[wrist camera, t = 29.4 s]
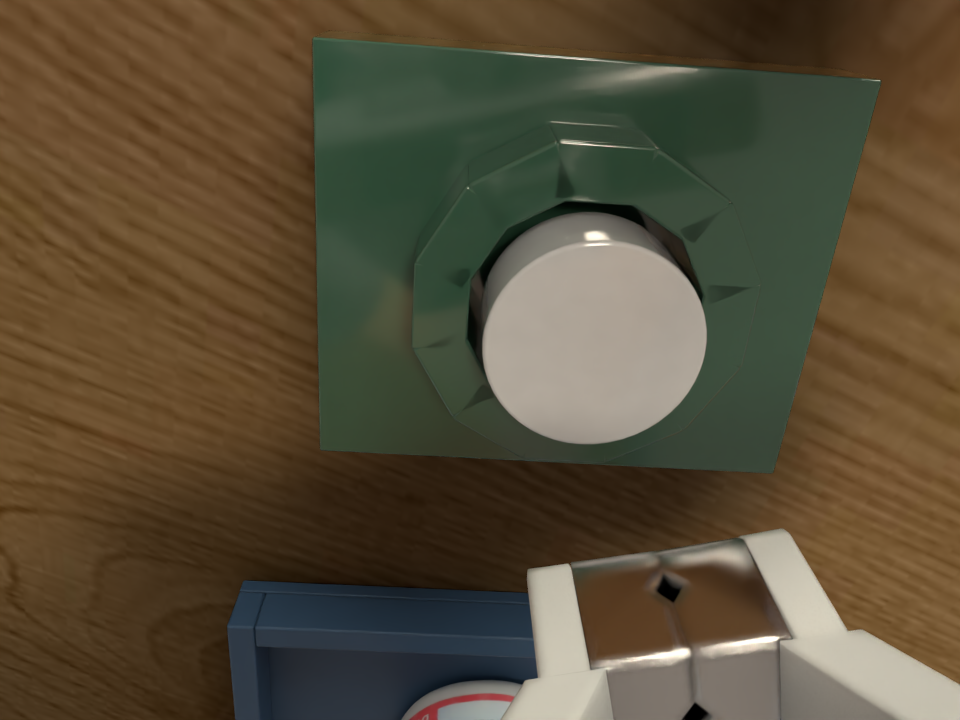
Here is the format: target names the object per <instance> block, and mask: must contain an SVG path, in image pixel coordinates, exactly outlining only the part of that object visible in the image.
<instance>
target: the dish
mask: <svg viewBox="0 0 960 720" xmlns="http://www.w3.org/2000/svg"><path fill="white" fill-rule="evenodd" d="M227 632H228V644H229V655H230V666H231V678H232V689H233V700H234V712H235V720H401V719H402V718H403V716H404V715H405V713H406V712H407V711H408V710H409V708H410V707H411V706H412V705H413V704H414V703H415V702H416V701H418V700H419V699H420V698H422V697H423V696H425V695H426V694H428V693H429V692H432V691H434V690H436V689H438V688H441V687H444V686H447V685H450V684H455V683H459V682H466V681H478V680H500V681H508V682H513V683H518V684H523V683H524V681H525V680H530V679H536V678H538V675H537V666H536V657H535V648H534V639H533V630H532V621H531V612H530V603H529V594H528V593H516V592H494V591H471V590H449V589H426V588H404V587H381V586H358V585H336V584H313V583H291V582H268V581H246V580H245V581H243V583H242V586H241V589H240V593H239V595H238V598H237V600H236V603H235V606H234V609H233V611H232V614H231V617H230V620H229V622H228V625H227Z"/></svg>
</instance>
